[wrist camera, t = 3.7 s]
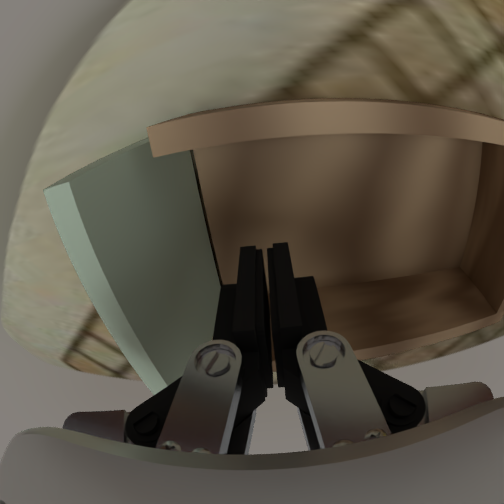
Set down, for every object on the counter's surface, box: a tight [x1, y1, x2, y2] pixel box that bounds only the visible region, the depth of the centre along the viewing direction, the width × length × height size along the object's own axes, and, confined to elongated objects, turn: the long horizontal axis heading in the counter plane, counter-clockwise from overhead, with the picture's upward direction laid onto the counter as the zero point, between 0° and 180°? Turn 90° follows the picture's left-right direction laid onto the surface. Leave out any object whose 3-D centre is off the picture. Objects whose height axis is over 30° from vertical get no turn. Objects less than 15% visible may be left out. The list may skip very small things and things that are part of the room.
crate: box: [147, 98, 504, 372], centre depth 12 cm, size 18×12×6 cm, turn 98°
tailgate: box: [43, 138, 221, 395], centre depth 12 cm, size 1×11×8 cm, turn 7°
